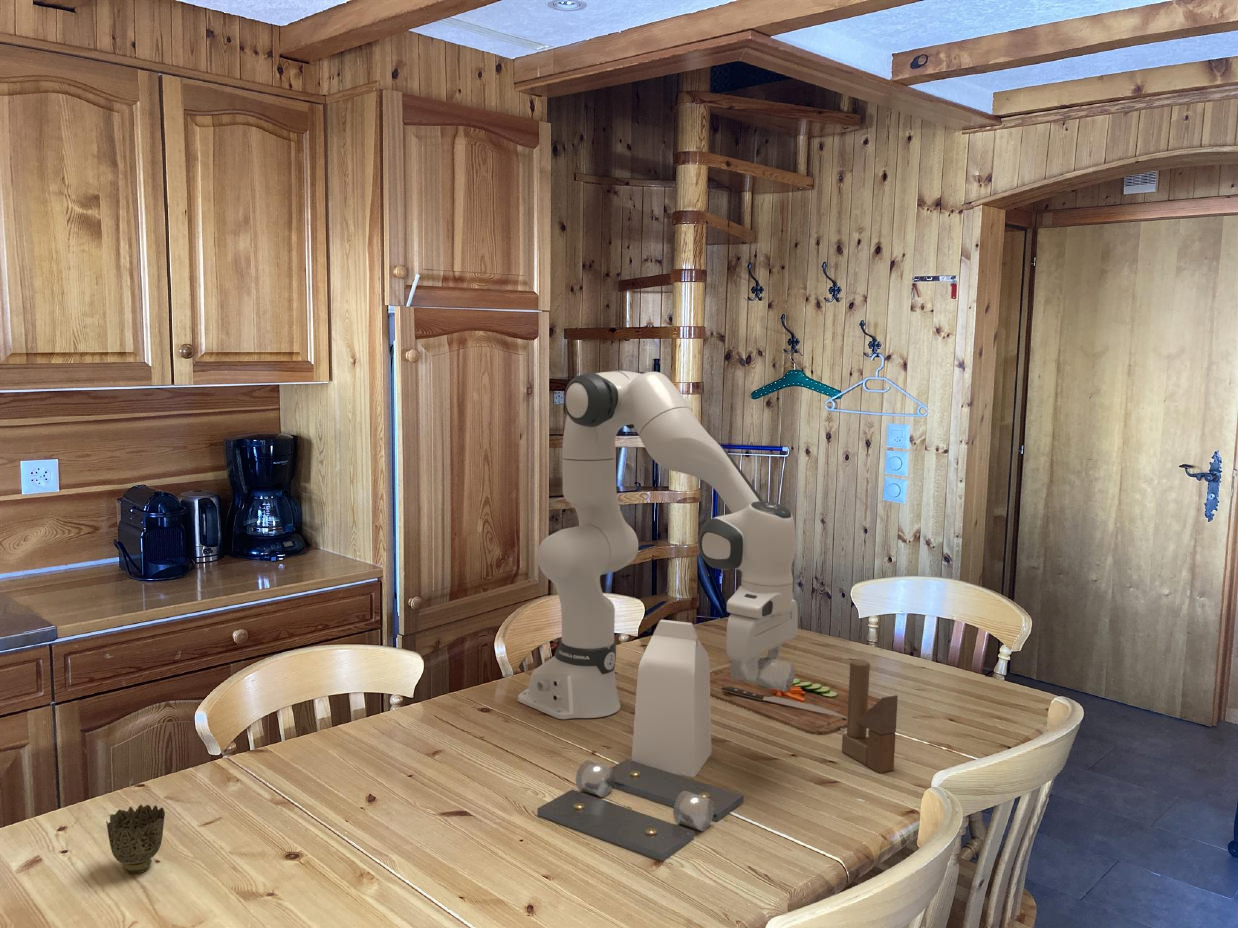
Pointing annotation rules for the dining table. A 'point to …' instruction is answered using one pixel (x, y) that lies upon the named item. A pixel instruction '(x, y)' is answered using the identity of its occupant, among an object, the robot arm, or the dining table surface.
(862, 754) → the wooden block
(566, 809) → the hinge base
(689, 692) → the milk
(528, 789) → the dining table surface
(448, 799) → the dining table surface
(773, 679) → the knuckle
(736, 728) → the dining table surface
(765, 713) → the chopping board
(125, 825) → the cup
